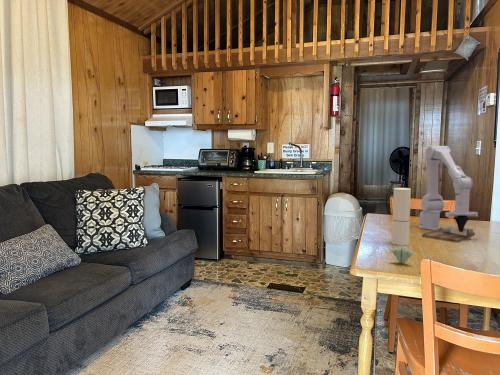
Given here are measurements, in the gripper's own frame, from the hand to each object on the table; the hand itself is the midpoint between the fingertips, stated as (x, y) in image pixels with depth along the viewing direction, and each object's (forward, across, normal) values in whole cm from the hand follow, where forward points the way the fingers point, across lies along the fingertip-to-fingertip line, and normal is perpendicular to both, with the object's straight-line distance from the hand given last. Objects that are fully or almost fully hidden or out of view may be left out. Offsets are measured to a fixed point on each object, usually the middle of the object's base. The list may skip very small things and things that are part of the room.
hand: (460, 231), depth 181 cm
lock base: (+3, -2, +6) cm, 8 cm away
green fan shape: (+4, -44, -35) cm, 57 cm away
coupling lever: (+2, 0, +3) cm, 4 cm away
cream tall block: (+4, -32, -6) cm, 32 cm away
